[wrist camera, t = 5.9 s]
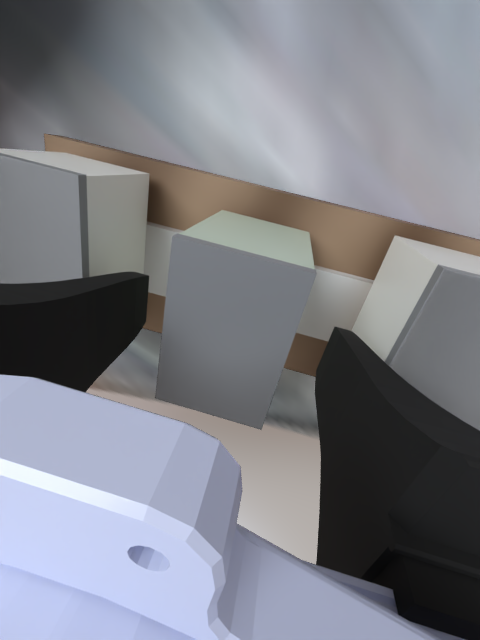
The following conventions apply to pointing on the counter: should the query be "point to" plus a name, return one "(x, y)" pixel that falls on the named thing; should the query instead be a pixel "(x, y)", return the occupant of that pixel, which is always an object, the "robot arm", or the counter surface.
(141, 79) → the counter surface
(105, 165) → the mounted modules
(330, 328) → the rail board
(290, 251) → the block
